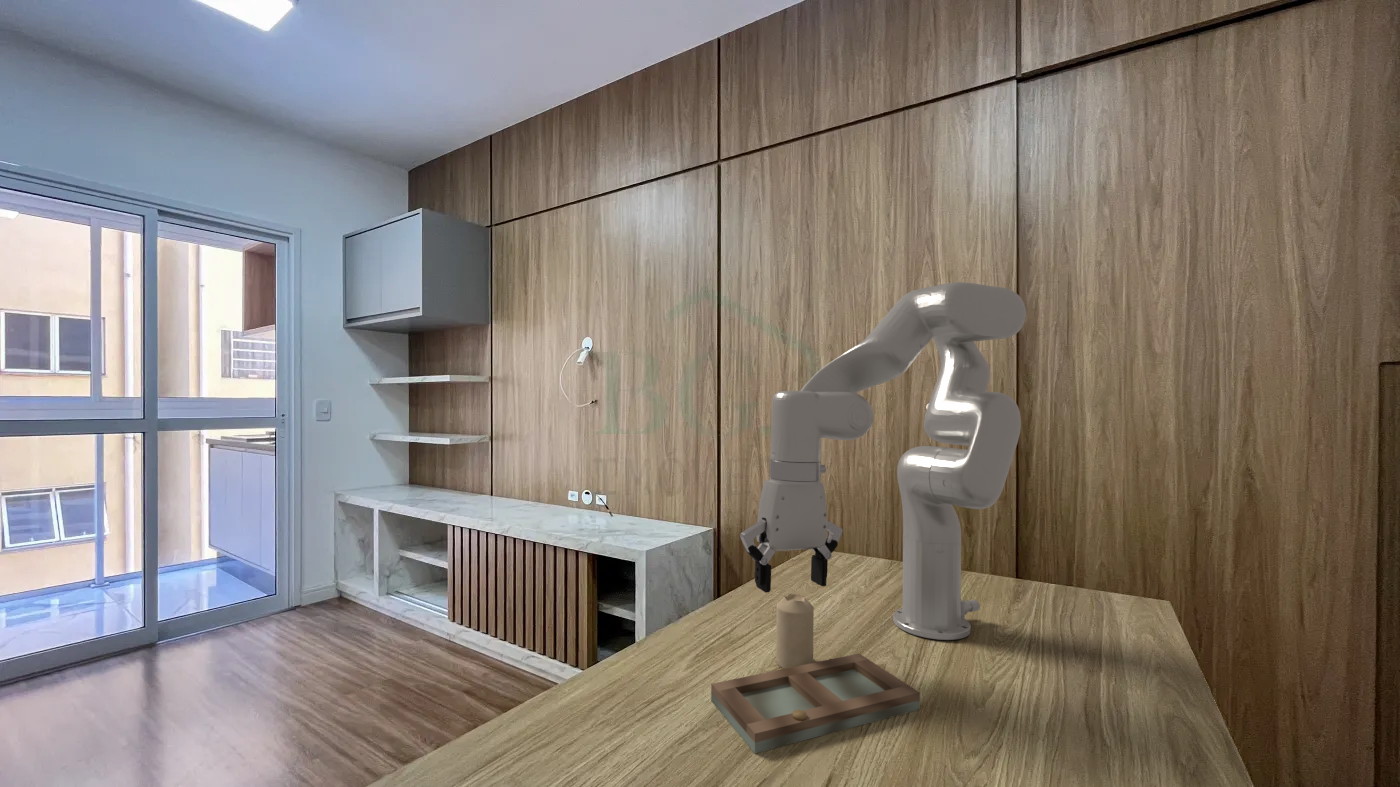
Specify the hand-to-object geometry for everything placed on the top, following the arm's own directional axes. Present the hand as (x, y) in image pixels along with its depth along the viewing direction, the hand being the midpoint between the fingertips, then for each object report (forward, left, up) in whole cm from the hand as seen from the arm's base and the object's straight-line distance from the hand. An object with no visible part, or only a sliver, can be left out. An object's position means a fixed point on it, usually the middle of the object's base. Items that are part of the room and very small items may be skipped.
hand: (791, 586), depth 85 cm
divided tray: (+3, +11, -12) cm, 16 cm away
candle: (-1, 0, -12) cm, 12 cm away
